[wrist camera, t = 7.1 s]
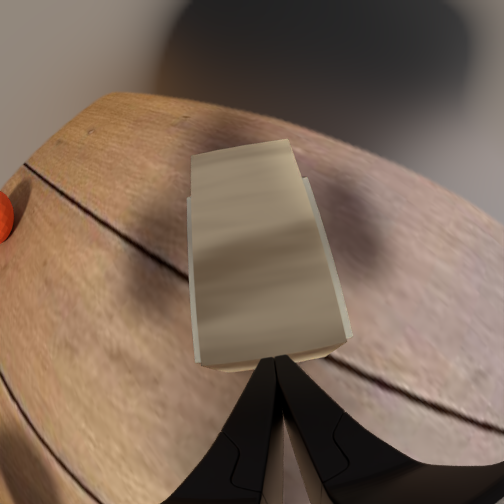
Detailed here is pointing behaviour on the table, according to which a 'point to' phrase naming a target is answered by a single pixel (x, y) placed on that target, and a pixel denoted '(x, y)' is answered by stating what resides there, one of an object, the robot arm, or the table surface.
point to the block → (258, 260)
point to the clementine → (5, 217)
